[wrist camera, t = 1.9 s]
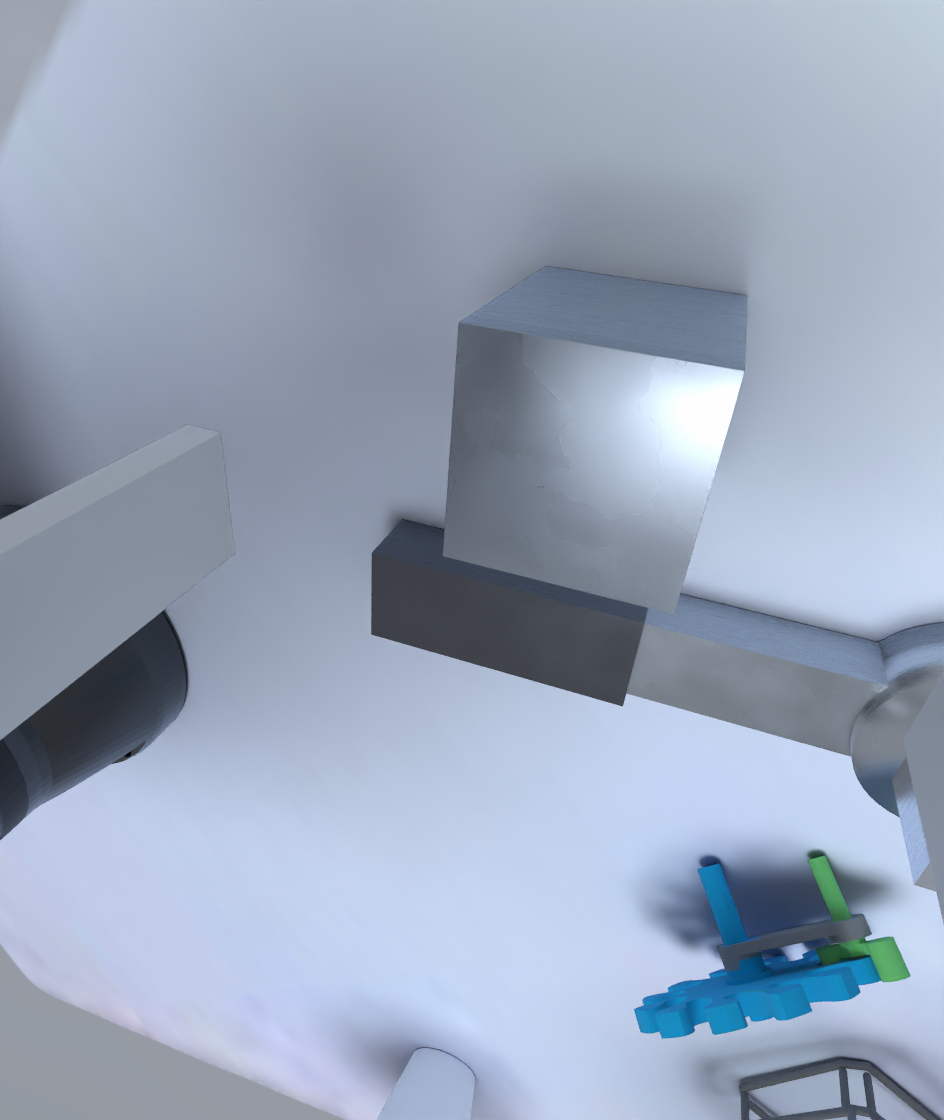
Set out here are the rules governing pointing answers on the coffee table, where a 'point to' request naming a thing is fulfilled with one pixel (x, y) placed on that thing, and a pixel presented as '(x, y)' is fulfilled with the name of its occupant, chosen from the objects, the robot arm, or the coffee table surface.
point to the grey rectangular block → (591, 430)
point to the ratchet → (674, 659)
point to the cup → (431, 1089)
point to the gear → (773, 966)
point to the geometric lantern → (847, 1109)
